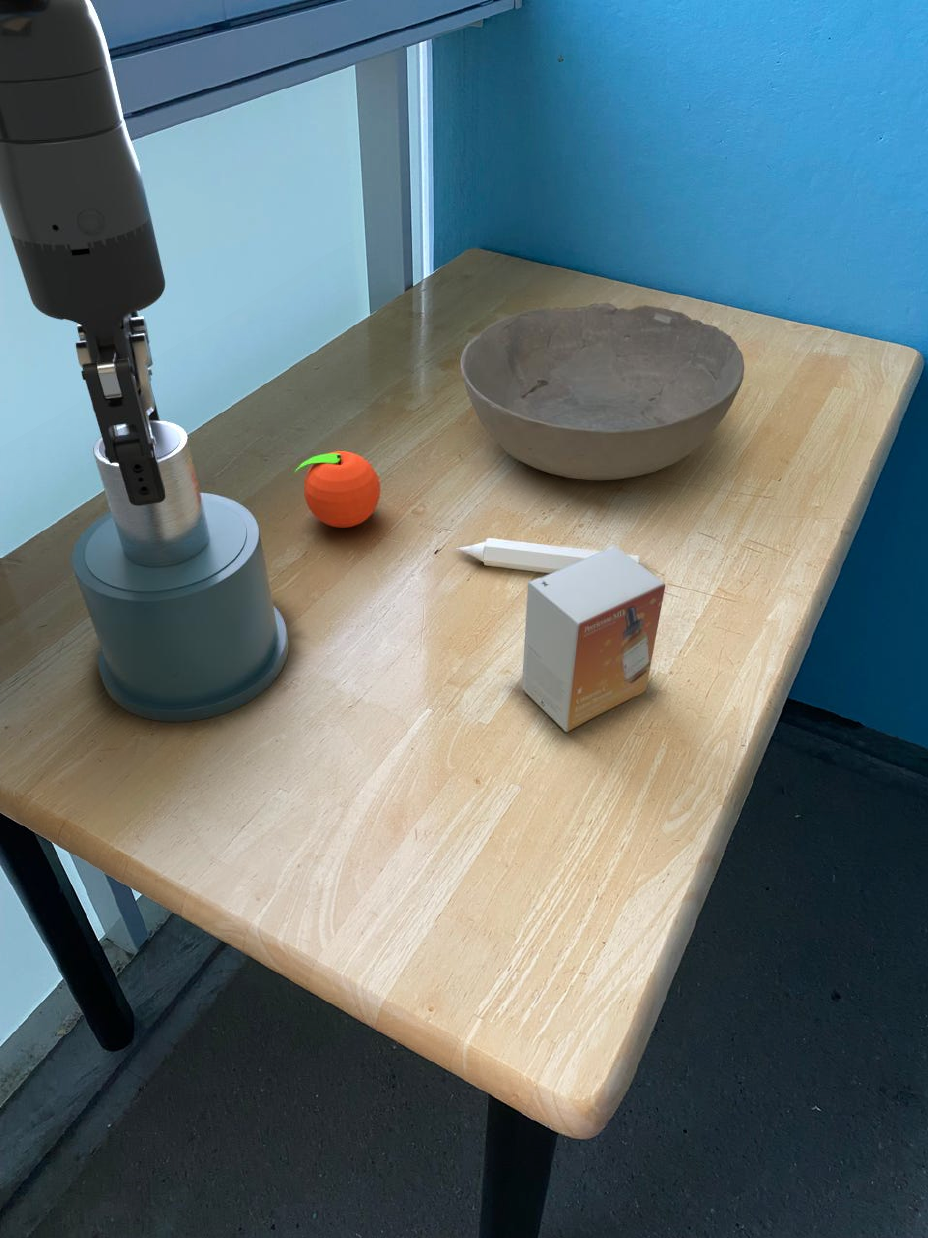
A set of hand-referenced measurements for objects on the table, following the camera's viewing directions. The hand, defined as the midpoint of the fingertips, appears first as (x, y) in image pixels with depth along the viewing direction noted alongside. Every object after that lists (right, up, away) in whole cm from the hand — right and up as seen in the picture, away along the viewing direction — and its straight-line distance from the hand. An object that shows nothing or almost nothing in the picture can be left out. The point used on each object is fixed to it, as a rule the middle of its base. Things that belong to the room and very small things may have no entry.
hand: (147, 466), depth 62 cm
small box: (+30, -16, +8) cm, 35 cm away
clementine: (+9, -1, +25) cm, 27 cm away
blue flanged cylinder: (0, -13, +11) cm, 17 cm away
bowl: (+35, +8, +36) cm, 50 cm away
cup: (0, -5, +4) cm, 6 cm away
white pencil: (+28, -6, +20) cm, 35 cm away
